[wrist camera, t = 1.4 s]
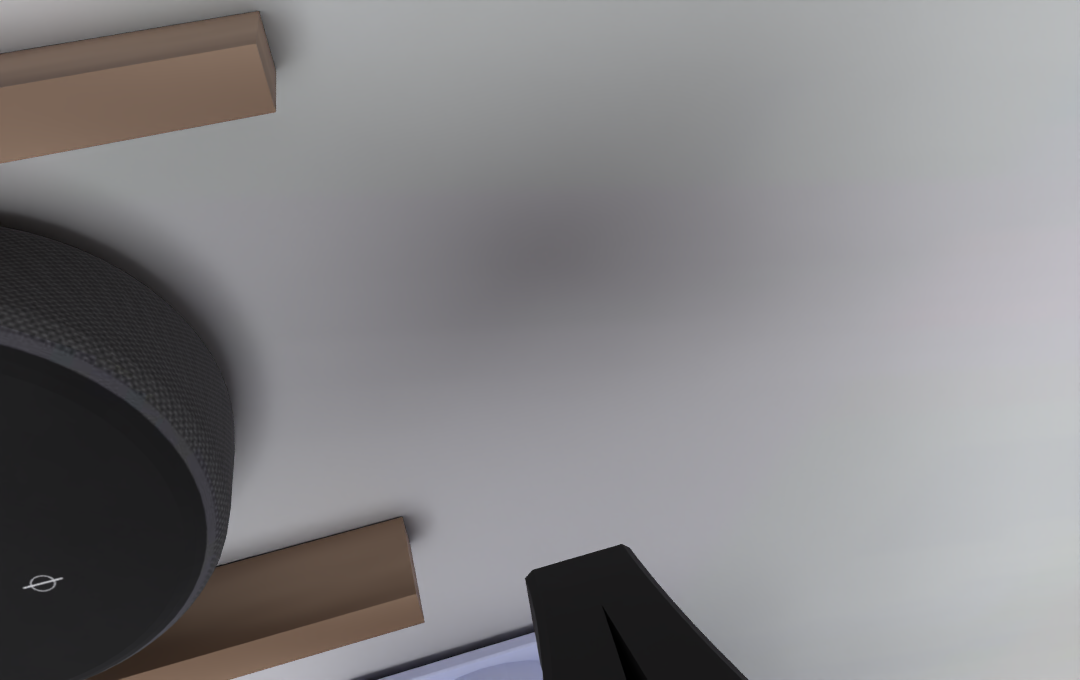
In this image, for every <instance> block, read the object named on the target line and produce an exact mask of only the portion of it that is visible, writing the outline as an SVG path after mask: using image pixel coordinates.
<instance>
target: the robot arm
mask: <svg viewBox="0 0 1080 680" xmlns="http://www.w3.org/2000/svg"><path fill="white" fill-rule="evenodd" d="M525 580H526V586H527V591H528V597H529V603H530V608H531V614H532V620H533V625H534V631H535V632H533V633H530V634H526V635H523V636H520V637H517V638H513V639H510V640H507V641H503V642H500V643H497V644H493V645H490V646H487V647H484V648H480V649H477V650H474V651H470V652H467V653H464V654H460V655H457V656H454V657H450V658H447V659H444V660H441V661H437V662H434V663H431V664H427V665H424V666H421V667H417V668H414V669H411V670H407V671H404V672H401V673H398V674H394V675H391V676H388V677H384V678H381V679H378V680H748V679H747V678H746V677H745V676H744V675H743V674H742V673H741V672H740V671H739V670H738V669H737V668H736V667H735V666H734V665H733V664H732V663H731V662H730V661H729V660H728V659H727V658H726V657H725V656H724V655H723V654H722V653H721V652H720V651H719V650H718V649H717V648H716V647H715V646H714V645H713V644H712V643H711V642H710V641H709V640H708V639H707V637H706V636H705V635H704V634H703V633H702V632H701V631H700V630H699V629H698V628H697V627H696V626H695V625H694V624H693V623H692V621H691V620H690V619H689V618H688V617H687V616H686V615H685V614H684V613H683V611H682V610H681V609H680V608H679V607H678V606H677V605H676V604H675V603H674V602H673V600H672V599H671V598H670V597H669V596H668V595H667V593H666V592H665V591H664V590H663V589H662V588H661V586H660V585H659V584H658V583H657V582H656V581H655V579H654V578H653V577H652V576H651V574H650V573H649V572H648V571H647V569H646V568H645V567H644V566H643V564H642V563H641V562H640V561H639V559H638V558H637V557H636V555H635V554H634V553H633V551H632V550H631V549H630V548H629V547H627V546H625V545H623V544H620V545H617V546H614V547H610V548H607V549H603V550H600V551H596V552H593V553H589V554H586V555H582V556H579V557H576V558H572V559H569V560H565V561H562V562H558V563H555V564H551V565H548V566H544V567H541V568H538V569H534V570H532V571H531V572H530V574H529V575H528V576H527V577H526V578H525Z"/></svg>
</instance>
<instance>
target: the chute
mask: <svg viewBox="0 0 1080 680" xmlns="http://www.w3.org/2000/svg"><path fill="white" fill-rule="evenodd" d="M274 112H276V69H275V66H274V62H273V59H272V55H271V52H270V48H269V45H268V41H267V38H266V34H265V31H264V27H263V23H262V20H261V16H260V13H259V11H256V12H250V13H244V14H238V15H232V16H226V17H220V18H214V19H208V20H202V21H196V22H190V23H184V24H178V25H172V26H166V27H160V28H153V29H147V30H141V31H135V32H129V33H123V34H117V35H111V36H105V37H99V38H93V39H87V40H81V41H75V42H69V43H63V44H57V45H51V46H45V47H39V48H33V49H27V50H21V51H15V52H9V53H3V54H0V163H6V162H11V161H16V160H22V159H27V158H32V157H38V156H43V155H49V154H54V153H59V152H65V151H70V150H75V149H81V148H86V147H91V146H97V145H102V144H108V143H113V142H118V141H124V140H129V139H134V138H140V137H145V136H151V135H156V134H161V133H167V132H172V131H177V130H183V129H188V128H193V127H199V126H204V125H210V124H215V123H220V122H226V121H231V120H236V119H242V118H247V117H253V116H258V115H263V114H269V113H274ZM421 623H424V616H423V611H422V606H421V600H420V595H419V590H418V584H417V579H416V573H415V568H414V563H413V557H412V552H411V547H410V542H409V539H408V535H407V532H406V528H405V525H404V521H403V518H402V517H400V518H396V519H393V520H389V521H385V522H382V523H378V524H374V525H370V526H367V527H363V528H359V529H356V530H352V531H348V532H345V533H341V534H337V535H334V536H330V537H326V538H323V539H319V540H315V541H312V542H308V543H304V544H301V545H297V546H293V547H289V548H286V549H282V550H278V551H275V552H271V553H267V554H264V555H260V556H256V557H253V558H249V559H245V560H242V561H238V562H234V563H231V564H227V565H223V566H219V567H216V568H215V570H214V572H213V574H212V575H211V577H210V579H209V581H208V582H207V584H206V586H205V587H204V589H203V590H202V592H201V593H200V595H199V596H198V597H197V599H196V600H195V601H194V603H193V604H192V605H191V607H190V608H189V609H188V610H187V611H186V612H185V613H184V614H183V615H182V617H181V618H180V619H179V620H178V621H177V622H176V623H175V624H174V625H172V626H171V627H170V628H169V629H168V630H167V631H166V632H164V633H163V634H162V635H161V636H160V637H158V638H157V639H156V640H154V641H153V642H152V643H150V644H149V645H148V646H146V647H145V648H143V649H142V650H141V651H139V652H138V653H136V654H134V655H133V656H131V657H129V658H128V659H126V660H125V661H123V662H121V663H119V664H117V665H115V666H113V667H111V668H109V669H107V670H105V671H103V672H101V673H99V674H96V675H94V676H92V677H89V678H87V679H85V680H230V679H233V678H237V677H240V676H244V675H247V674H250V673H254V672H257V671H261V670H264V669H268V668H271V667H274V666H278V665H281V664H285V663H288V662H291V661H295V660H298V659H302V658H305V657H308V656H312V655H315V654H319V653H322V652H325V651H329V650H332V649H336V648H339V647H342V646H346V645H349V644H353V643H356V642H359V641H363V640H366V639H370V638H373V637H376V636H380V635H383V634H387V633H390V632H393V631H397V630H400V629H404V628H407V627H410V626H414V625H417V624H421Z"/></svg>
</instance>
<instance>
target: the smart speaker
mask: <svg viewBox="0 0 1080 680" xmlns="http://www.w3.org/2000/svg"><path fill="white" fill-rule="evenodd" d="M233 465H234V421H233V415H232V408H231V402H230V399H229V395H228V392H227V388H226V385H225V383H224V380H223V378H222V375H221V373H220V370H219V368H218V366H217V365H216V363H215V361H214V359H213V357H212V356H211V354H210V352H209V351H208V349H207V348H206V346H205V345H204V344H203V342H202V341H201V339H200V338H199V336H198V335H197V334H196V333H195V332H194V330H193V329H192V328H191V327H190V326H189V325H188V324H187V322H186V321H185V320H184V319H183V318H182V317H181V316H180V315H179V314H178V313H177V312H176V311H175V310H174V309H173V308H172V307H171V306H169V305H168V304H167V303H166V302H165V301H164V300H163V299H162V298H160V297H159V296H158V295H157V294H155V293H154V292H153V291H152V290H150V289H149V288H148V287H147V286H145V285H144V284H142V283H141V282H139V281H138V280H136V279H135V278H133V277H132V276H130V275H129V274H127V273H125V272H124V271H122V270H120V269H118V268H117V267H115V266H113V265H111V264H109V263H107V262H106V261H104V260H102V259H100V258H98V257H95V256H93V255H91V254H89V253H86V252H84V251H82V250H80V249H77V248H75V247H72V246H69V245H67V244H64V243H61V242H58V241H56V240H53V239H50V238H46V237H42V236H39V235H35V234H32V233H28V232H25V231H20V230H15V229H10V228H5V227H0V680H85V679H87V678H89V677H92V676H94V675H96V674H99V673H101V672H103V671H105V670H107V669H109V668H111V667H113V666H115V665H117V664H119V663H121V662H123V661H125V660H126V659H128V658H129V657H131V656H133V655H134V654H136V653H138V652H139V651H141V650H142V649H143V648H145V647H146V646H148V645H149V644H150V643H152V642H153V641H154V640H156V639H157V638H158V637H160V636H161V635H162V634H163V633H164V632H166V631H167V630H168V629H169V628H170V627H171V626H172V625H174V624H175V623H176V622H177V621H178V620H179V619H180V618H181V617H182V615H183V614H184V613H185V612H186V611H187V610H188V609H189V608H190V607H191V605H192V604H193V603H194V601H195V600H196V599H197V597H198V596H199V595H200V593H201V592H202V590H203V589H204V587H205V586H206V584H207V582H208V581H209V579H210V577H211V575H212V574H213V572H214V570H215V567H216V565H217V563H218V561H219V558H220V556H221V553H222V549H223V546H224V542H225V539H226V534H227V529H228V523H229V516H230V508H231V495H232V480H233Z"/></svg>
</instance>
